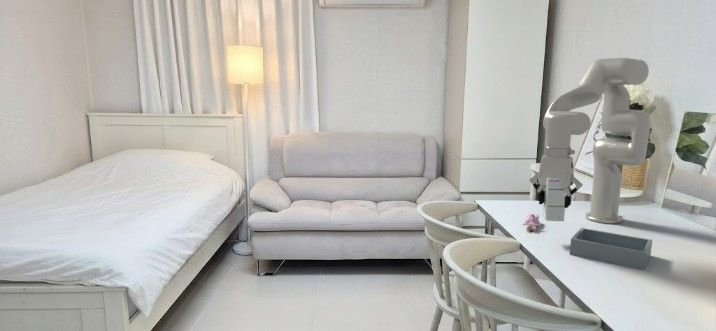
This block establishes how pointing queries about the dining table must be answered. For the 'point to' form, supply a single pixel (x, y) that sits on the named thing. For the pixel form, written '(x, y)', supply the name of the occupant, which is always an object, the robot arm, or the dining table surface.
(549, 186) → the syrup box
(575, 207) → the dining table surface
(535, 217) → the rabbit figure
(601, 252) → the crate
